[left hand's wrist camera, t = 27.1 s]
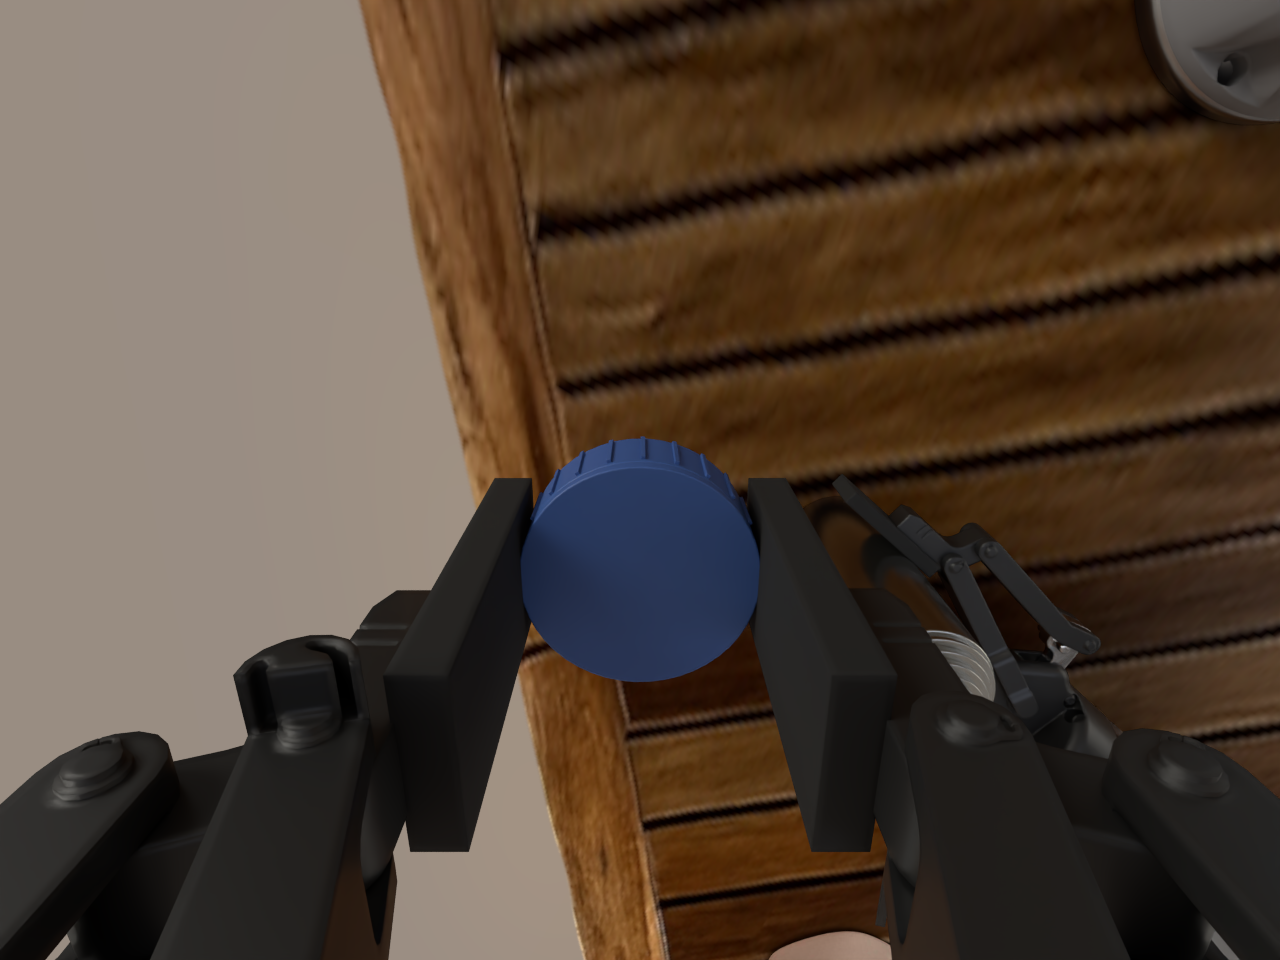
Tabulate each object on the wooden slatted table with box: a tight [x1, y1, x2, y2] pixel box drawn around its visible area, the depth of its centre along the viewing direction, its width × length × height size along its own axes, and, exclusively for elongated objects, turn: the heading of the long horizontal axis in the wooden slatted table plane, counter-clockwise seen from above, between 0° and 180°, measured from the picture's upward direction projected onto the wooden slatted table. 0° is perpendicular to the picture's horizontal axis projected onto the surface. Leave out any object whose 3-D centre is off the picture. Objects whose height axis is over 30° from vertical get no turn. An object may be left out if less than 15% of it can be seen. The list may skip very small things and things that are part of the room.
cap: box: [520, 437, 760, 682], centre depth 14 cm, size 5×5×2 cm
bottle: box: [803, 496, 996, 701], centre depth 35 cm, size 6×6×19 cm
